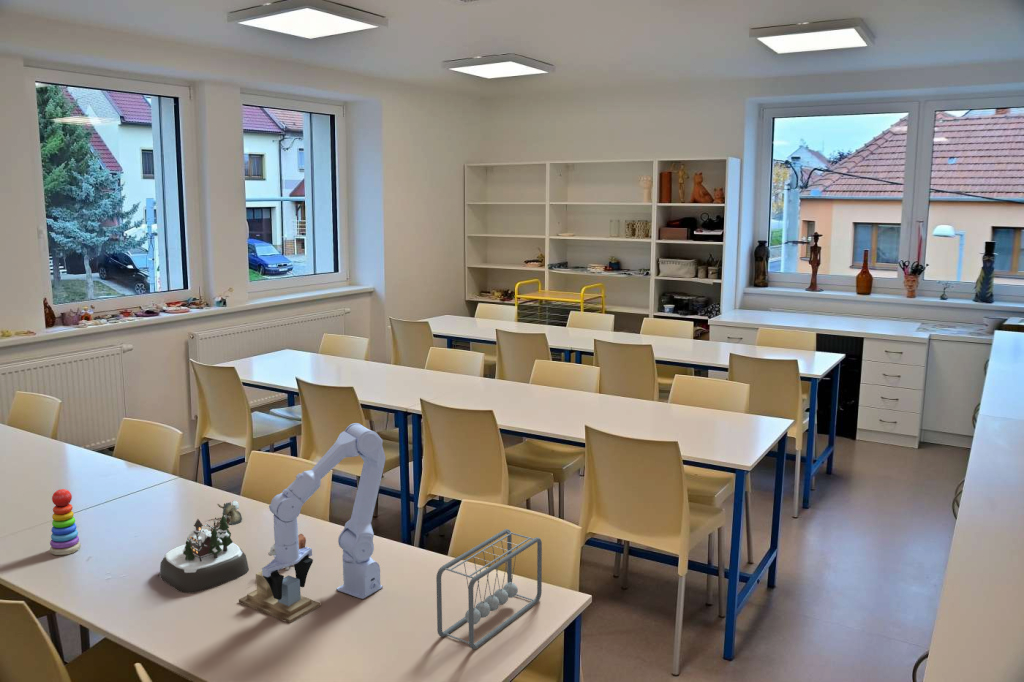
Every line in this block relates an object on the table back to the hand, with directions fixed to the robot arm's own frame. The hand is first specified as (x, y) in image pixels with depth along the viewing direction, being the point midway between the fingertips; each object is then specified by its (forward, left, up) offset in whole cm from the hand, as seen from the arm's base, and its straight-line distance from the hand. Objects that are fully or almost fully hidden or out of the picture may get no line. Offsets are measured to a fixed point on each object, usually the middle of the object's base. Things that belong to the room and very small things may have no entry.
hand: (289, 592), depth 204 cm
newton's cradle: (-46, -23, -5) cm, 52 cm away
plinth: (+4, 0, -4) cm, 6 cm away
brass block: (+8, 0, -2) cm, 8 cm away
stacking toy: (+82, +12, -5) cm, 83 cm away
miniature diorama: (+36, -1, -5) cm, 36 cm away
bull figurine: (+19, -17, -5) cm, 26 cm away
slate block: (0, 0, -2) cm, 2 cm away
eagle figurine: (+60, -29, -5) cm, 67 cm away
